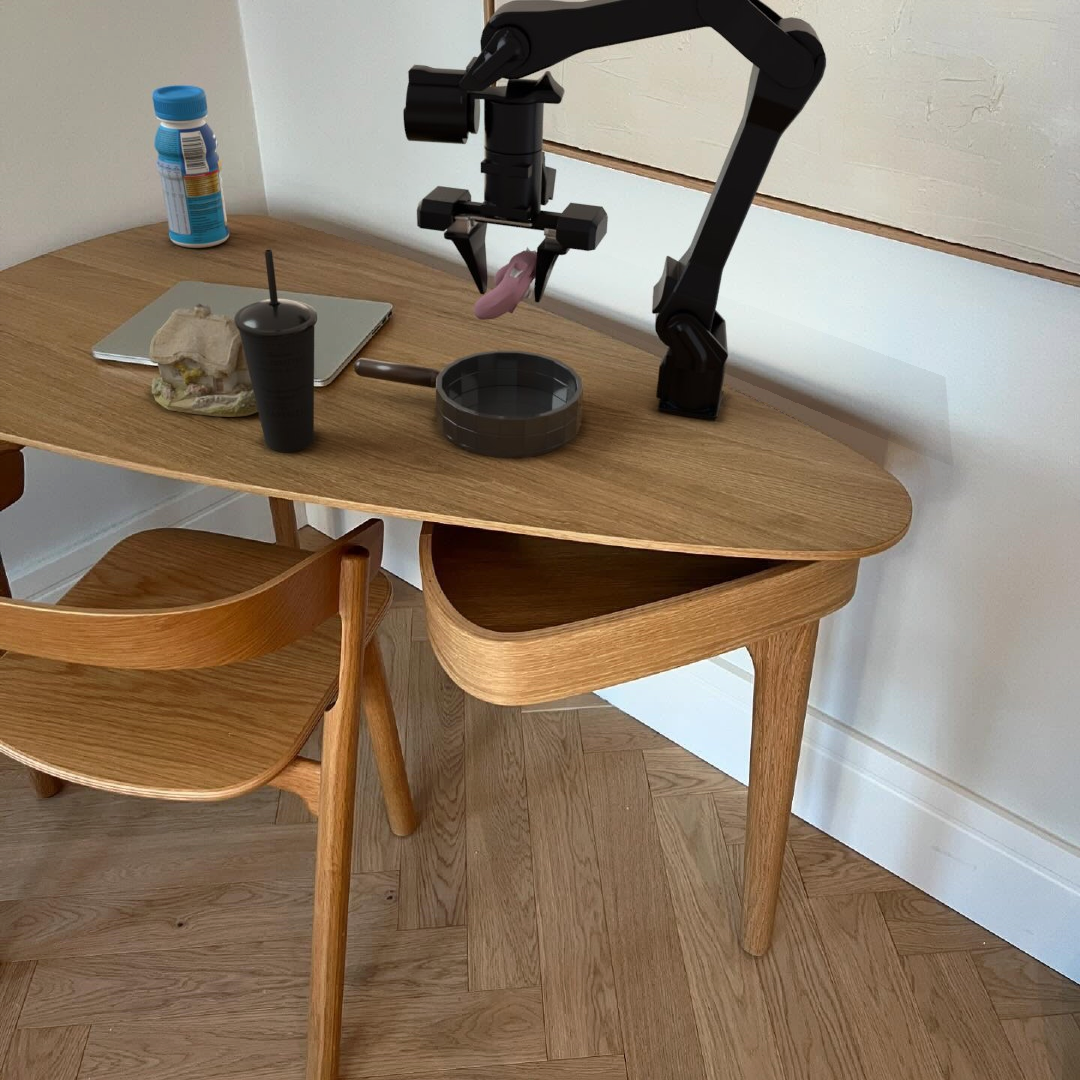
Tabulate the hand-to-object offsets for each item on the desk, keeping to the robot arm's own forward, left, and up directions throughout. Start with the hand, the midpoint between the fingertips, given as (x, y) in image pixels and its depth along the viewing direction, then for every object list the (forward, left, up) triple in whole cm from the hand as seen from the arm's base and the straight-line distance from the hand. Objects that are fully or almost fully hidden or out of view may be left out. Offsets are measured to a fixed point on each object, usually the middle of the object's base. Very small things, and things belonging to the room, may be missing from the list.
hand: (511, 297), depth 116 cm
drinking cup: (+18, +18, -11) cm, 28 cm away
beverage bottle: (+54, -29, -11) cm, 62 cm away
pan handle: (+10, +7, -8) cm, 15 cm away
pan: (-2, +7, -11) cm, 13 cm away
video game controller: (0, 0, -1) cm, 1 cm away
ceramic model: (+30, +11, -11) cm, 34 cm away
